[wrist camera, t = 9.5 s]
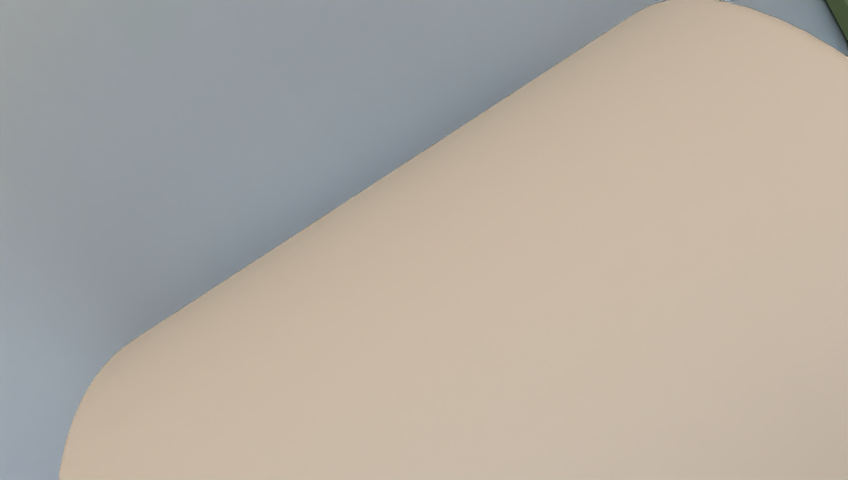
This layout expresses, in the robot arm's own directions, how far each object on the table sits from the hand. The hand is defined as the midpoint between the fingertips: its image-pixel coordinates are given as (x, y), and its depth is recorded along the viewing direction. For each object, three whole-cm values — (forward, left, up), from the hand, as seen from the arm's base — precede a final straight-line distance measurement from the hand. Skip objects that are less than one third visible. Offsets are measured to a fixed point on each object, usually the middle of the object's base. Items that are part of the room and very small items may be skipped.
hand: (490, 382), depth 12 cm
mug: (-1, 0, -1) cm, 1 cm away
